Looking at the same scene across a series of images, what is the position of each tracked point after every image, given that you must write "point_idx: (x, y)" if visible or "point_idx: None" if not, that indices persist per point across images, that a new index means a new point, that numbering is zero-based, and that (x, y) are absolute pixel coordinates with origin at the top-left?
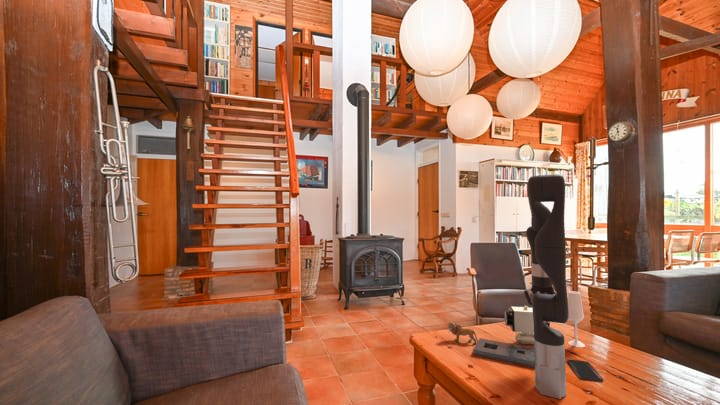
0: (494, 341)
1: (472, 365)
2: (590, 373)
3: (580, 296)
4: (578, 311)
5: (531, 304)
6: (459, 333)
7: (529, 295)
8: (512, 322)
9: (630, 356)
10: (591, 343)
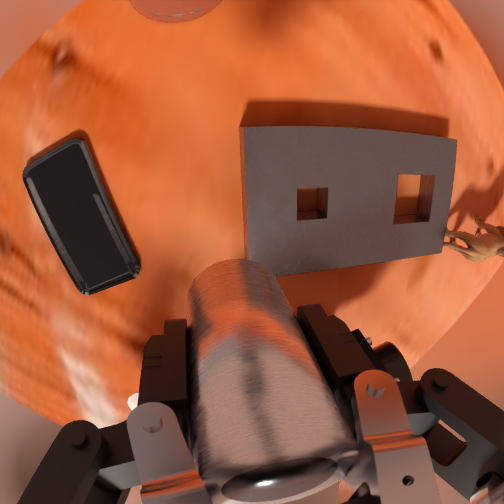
0: (402, 253)
1: (432, 56)
2: (56, 199)
3: None
4: (130, 496)
5: (411, 386)
6: (491, 232)
7: (464, 482)
8: (375, 354)
9: (33, 387)
10: (121, 421)
